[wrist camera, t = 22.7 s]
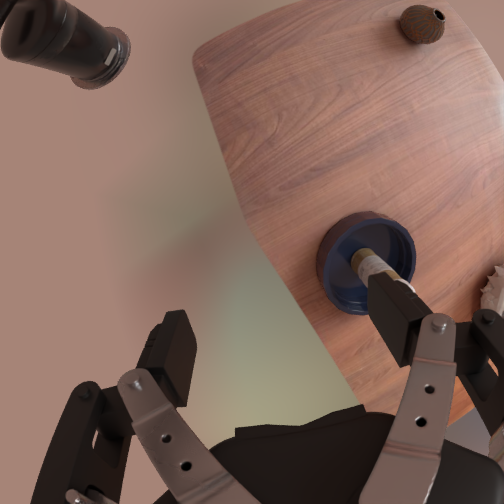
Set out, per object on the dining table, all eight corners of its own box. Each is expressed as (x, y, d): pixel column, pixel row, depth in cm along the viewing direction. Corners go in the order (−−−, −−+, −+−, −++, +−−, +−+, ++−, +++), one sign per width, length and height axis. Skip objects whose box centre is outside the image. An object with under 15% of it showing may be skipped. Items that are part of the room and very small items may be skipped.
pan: (295, 258, 43) (301, 270, 38) (371, 190, 39) (384, 195, 35) (350, 316, 47) (359, 331, 43) (416, 258, 43) (429, 269, 39)
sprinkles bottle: (370, 274, 43) (408, 319, 31) (346, 271, 43) (380, 318, 30) (378, 248, 42) (422, 287, 29) (353, 244, 41) (393, 284, 29)
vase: (402, 7, 27) (428, -11, 19) (432, 34, 29) (461, 21, 20) (387, 27, 29) (414, 8, 21) (419, 55, 31) (449, 43, 22)
